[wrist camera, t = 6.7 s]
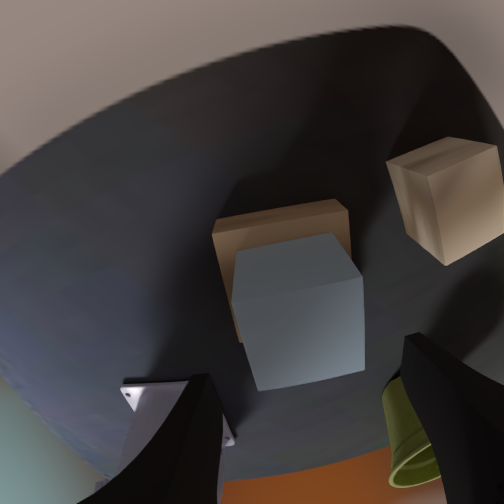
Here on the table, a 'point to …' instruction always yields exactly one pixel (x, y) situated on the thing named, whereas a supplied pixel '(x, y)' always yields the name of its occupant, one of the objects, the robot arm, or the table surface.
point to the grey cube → (299, 311)
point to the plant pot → (407, 440)
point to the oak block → (276, 233)
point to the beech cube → (450, 196)
